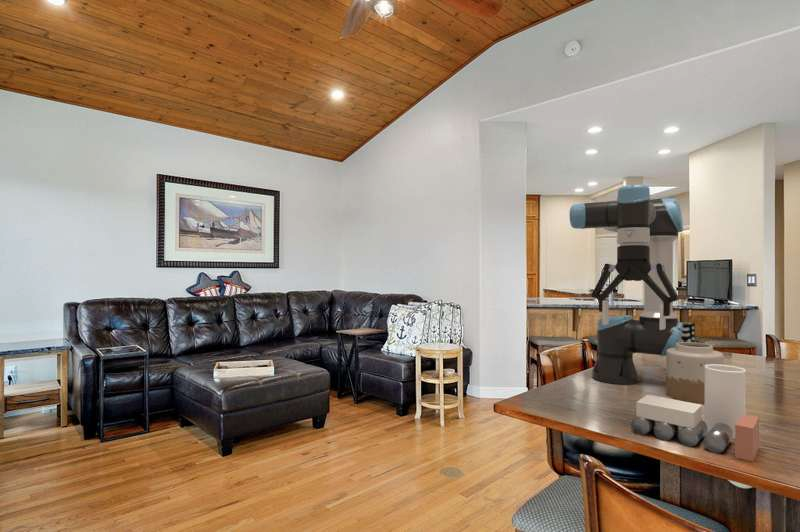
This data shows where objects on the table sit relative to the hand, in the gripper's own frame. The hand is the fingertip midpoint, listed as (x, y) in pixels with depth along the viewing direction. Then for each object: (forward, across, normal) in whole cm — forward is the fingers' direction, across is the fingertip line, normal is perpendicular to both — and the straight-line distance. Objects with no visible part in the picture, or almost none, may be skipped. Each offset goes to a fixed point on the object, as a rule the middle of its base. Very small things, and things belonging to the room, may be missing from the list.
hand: (632, 326), depth 117 cm
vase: (+25, +7, +40) cm, 48 cm away
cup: (+25, +18, +10) cm, 33 cm away
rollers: (+25, +11, -2) cm, 28 cm away
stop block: (+25, +24, -2) cm, 35 cm away
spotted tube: (+25, -2, +71) cm, 75 cm away
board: (+21, +9, -2) cm, 23 cm away
